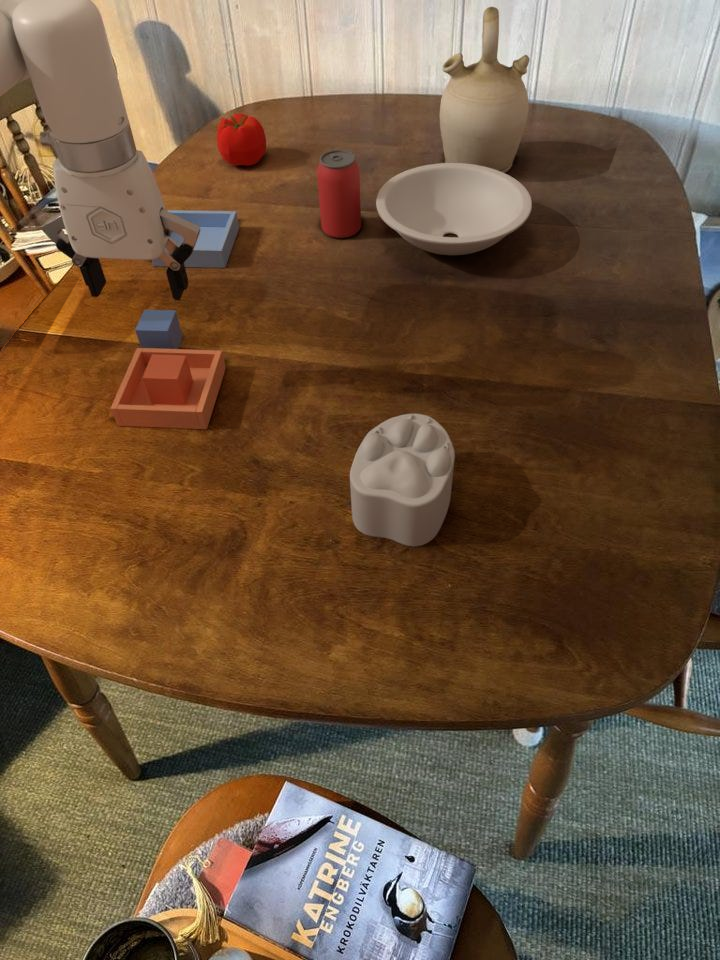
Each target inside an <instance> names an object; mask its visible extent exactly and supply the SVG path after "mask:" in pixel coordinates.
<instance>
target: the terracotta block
mask: <svg viewBox="0 0 720 960" xmlns="http://www.w3.org/2000/svg"><path fill="white" fill-rule="evenodd" d="M143 381H144V384H145V387H146V390H147V392H148V395H149V398H150V401H151V404H168V405H185V404H186V402H187V399H188V396H189V393H190V390H191V387H192V384H193V379H192V375H191V371H190V368H189V364H188V361H187V357H186V356H185V355H154V354H152V356H151V358H150V361H149V363H148V366H147V368H146V370H145V373H144V375H143Z"/></svg>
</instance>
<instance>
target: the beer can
mask: <svg viewBox="0 0 720 960" xmlns="http://www.w3.org/2000/svg"><path fill="white" fill-rule="evenodd" d="M356 158H357V157H356V155H355V154H354V153H353V152H351V151H349V150H346V149H331V150H328V151H326V152H324V153H322V154H321V155H320V157H319V163H318V166H317V174H316V176H317V189H318V202H319V213H320V215H319V216H320V226H321V230H322V232H323V233H324V234H325V235H326V236H329V237H331V238H335V239H346V238H350V237H352V236H355V235H356V234H358V233H359V231H360V230H361V228H362V213H361V212H362V211H361V210H362V209H361V208H362V207H361V180H360V177H361V176H360V167H359V165H358V163H357V160H356Z"/></svg>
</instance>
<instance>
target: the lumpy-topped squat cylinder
mask: <svg viewBox="0 0 720 960" xmlns="http://www.w3.org/2000/svg"><path fill="white" fill-rule="evenodd" d="M455 460H456V453H455V448H454V445H453V443H452V440H451V438H450V435H449V434H448V432H447V430H446V429H445V427H443V425H441V424H440V423H439V422H438V421H437V420H435V419H434V418H433V417H431V416H429V415H426V414H422V413H406V414H400V415H396V416H394V417H390V418H388V419H386V420H384V421H382V422H381V423H380V424H378V425H376V426H374V427H373V428H372V429H370V430H369V431H368V433H367V434H366V435H365V436H364V438H363V439H362V441H361V443H360V444H359V446H358V448H357V450H356V452H355V455H354V459H353V461H352V464H351V467H350V471H349V485H350V487H349V488H350V503H351V504H350V505H351V518H352V522H353V525H354V527H355V528H356V530H357V531H359V532H360V533H361V532H362V533H361V534H363V535H366V536H369V537H375V538H383V539H388V540H391V541H394V542H396V543H399V544H400V545H404V546H408V547H421V546H424V545H426V544H428V543H430V542H431V541H432V540H434V538H435V537H436V536H437V535H438V533H439V531H440V530H441V528H442V525H443V524H444V521H445V519H446V516H447V513H448V510H449V508H450V507H449V506H450V502H451V498H452V488H453V477H454V468H455Z"/></svg>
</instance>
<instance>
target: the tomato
mask: <svg viewBox="0 0 720 960" xmlns="http://www.w3.org/2000/svg"><path fill="white" fill-rule="evenodd" d="M229 116H230V118H221V120H220V122H218V123H219V124H218V126H217V130H216V146H217V149H218V152H219V154H220V156H221V158H222V160H223V161H225V163H227V164H229V165H232V166H237V167H238V166H245V167H249V166H253V165H255V164H257V163H259V162H260V160H261V158H262V157H263V156H264V155H265V153H266V150H267V137H266V133H265V129H264V127H263V125H262V123H261V122H260V121H259V120H258V119H257V118H256V117H254V116H249V115H248V114H246V113H235V114H233V115H231V114H229Z"/></svg>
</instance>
